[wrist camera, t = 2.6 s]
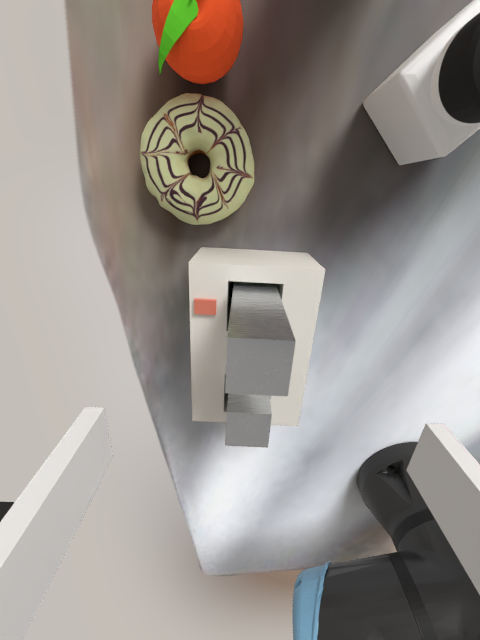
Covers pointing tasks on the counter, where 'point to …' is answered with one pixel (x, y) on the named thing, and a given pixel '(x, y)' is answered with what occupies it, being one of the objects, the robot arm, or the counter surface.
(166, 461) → the counter surface
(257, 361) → the upper square grey bar
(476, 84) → the medicine bottle
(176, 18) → the clementine
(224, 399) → the housing
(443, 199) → the counter surface
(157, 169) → the decorated donut
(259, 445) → the grey square peg
